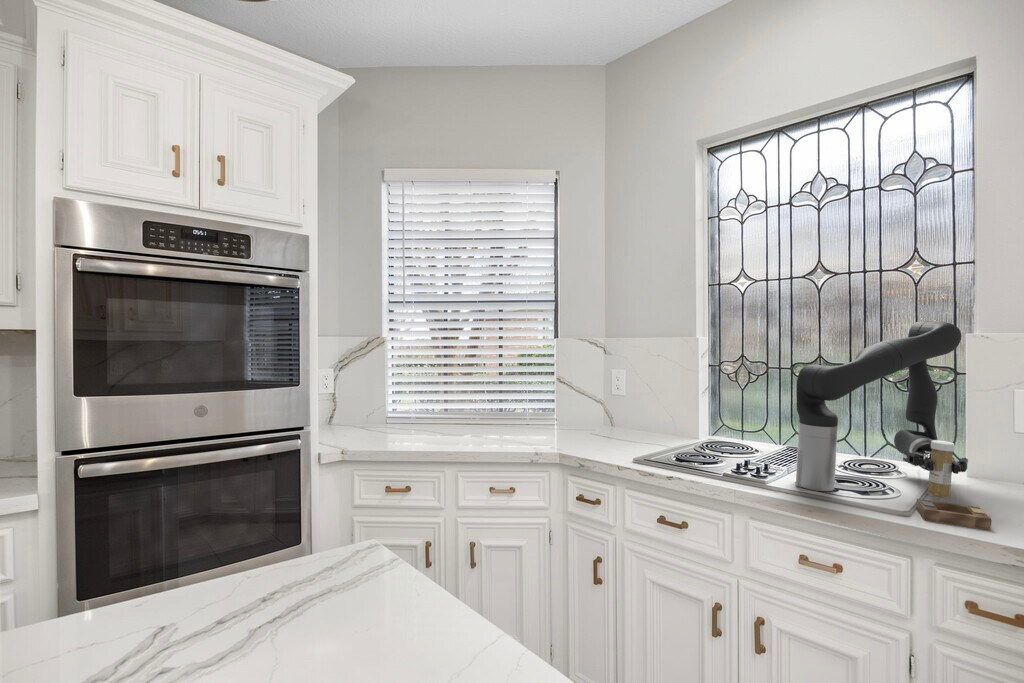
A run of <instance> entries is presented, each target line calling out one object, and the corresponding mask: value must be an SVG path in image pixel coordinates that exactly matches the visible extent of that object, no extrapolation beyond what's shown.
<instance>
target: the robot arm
mask: <svg viewBox="0 0 1024 683" xmlns="http://www.w3.org/2000/svg"><path fill="white" fill-rule="evenodd" d="M961 340H962V332H961V330H960V328H959V327H958V326H956V324H953V323H950V322H946V321H934V320H933V321H932V320H931V321H930V320H919V321H916V322H915V323H913V324H912V325H911V326H910V329H909V331H908V333H907V337H899V338H892V339H886V340H882V341H879V342H876V343H874V344H871V345H867V346H866V347H865V348H862V349H861V350H860V351H859V352H858V354H857V355H856V357H855V359H854V360H853V361H851V362H848V363H845V364H841V365H835V366H833V365H832V366H831V365H822V364H807V365H805V366H803V367H802V368H800V370H799V372H798V375H797V378H796V384H795V386H796V387H795V388H796V394H795V395H796V412H797V415H798V438H797V440H798V441H797V453H796V454H797V455H796V468H795V469H796V470H795V471H796V473H795V487H800V488H803V489H806V490H810V491H819V492H832V491H834V490H835V483H836V478H835V477H836V463H837V462H836V460H837V446H838V444H837V443H838V430H839V429H838V427H839V426H838V424H839V423H838V422H839V418H838V415H837V414H835V412H833V411H831V410H830V409H829V408H828V406H827V405H826V401H827V402H829V401H832V402H833V401H837V400H839V399H841V398H843V397H845V396H847V395H848V394H850V393H852V392H854V391H855V390H857V389H859V388H860V387H863V386H865V385H867V384H870V383H872V382H875V381H878V380H879V379H882V378H885V377H887V376H889V375H893V374H895V373H897V372H899V371H902V370H904V369H906V368H908V395H907V403H906V408H905V409H906V410H905V420H907V421H908V422H911V423H913V424H916V425H920V426H921V427H923V429H924V431H920V430H919V431H918V430H912V429H904V428H903V429H900V430H899V431H897V432H896V433H895V435H894V437H893V443H894V447H895V448H896V450H897V451H898V452H899V453H900V454H902V461H903V462H906V463H908V464H910V465H912V466H914V467H918V466H919V467H920V468H921V469H923V470H926V471H928V472H929V470H933V461H932V460H931V451H932V450H931V441H932V440H939V439H938V435H937V431H936V430H937V429H936V413H937V406H938V392H937V389H936V386H935V384H934V380H933V379H932V378H931V377H932V376H931V375H930V372H929V369H928V364H927V362H928V361H927V360H928V359H929V360H930V359H933V358H937V357H940V356H944V355H948V354H950V353H952V352H953V351H955V350H956V349H957V348H958V346H959V345H960V344H961ZM968 462H969V459H968V458H966V457H962V458H959V459H955V458H954V457H953V459H952V473H953V474H955V475H956V474H959V473H965V472H966V471H967V470H968V465H969V463H968Z"/></svg>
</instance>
